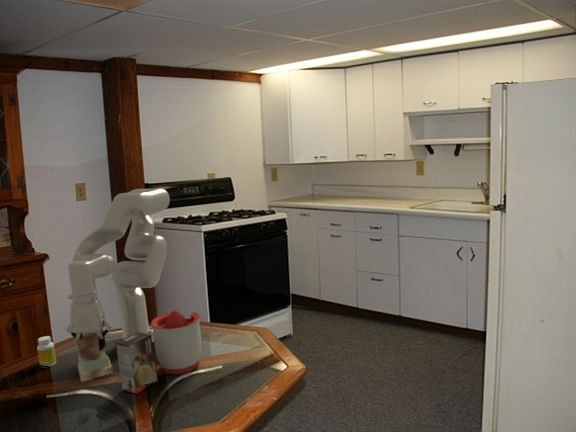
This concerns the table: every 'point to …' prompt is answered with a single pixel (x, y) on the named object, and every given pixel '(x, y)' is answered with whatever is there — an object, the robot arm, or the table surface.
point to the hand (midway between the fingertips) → (92, 348)
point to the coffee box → (136, 360)
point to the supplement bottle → (46, 351)
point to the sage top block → (93, 362)
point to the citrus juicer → (177, 342)
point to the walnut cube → (90, 346)
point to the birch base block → (94, 372)
